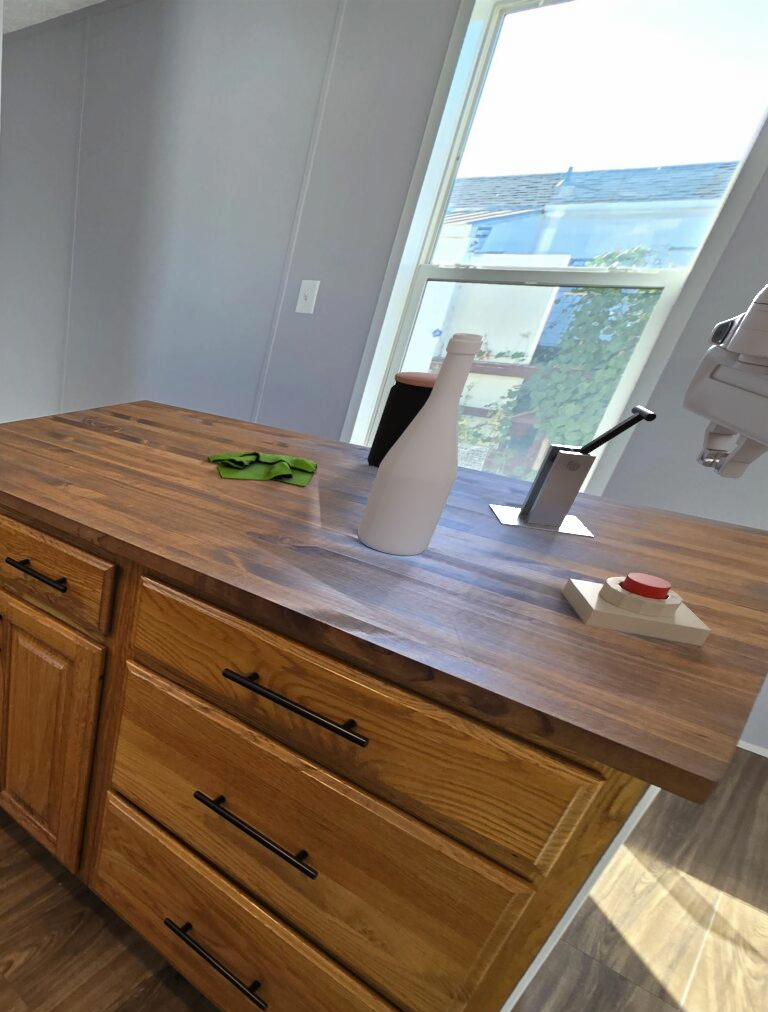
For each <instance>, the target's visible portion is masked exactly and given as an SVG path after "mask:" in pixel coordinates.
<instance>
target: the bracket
mask: <svg viewBox="0 0 768 1012" xmlns="http://www.w3.org/2000/svg"><path fill="white" fill-rule="evenodd" d="M581 447H582V446H574V445H565V444H564V445H563V444H555V443H551V444H550V446H549V447H548V450H547V452H546V454H545V456H544V458H543V460H542V462H541V465H540V466H539V469H538V471H537V473H536V475H535V477H534V480H533V481H532V484H531V486H530V488H529V491H528V493H527V494H526V497H525V499H524V501H523V503H522V505H521V507H520V508H517V507H516V508H515V507H511V506H502V505H496V504H489V505H488V506H489V509H490V510H491V511H492V512H493V514H494V515H495V517H496V518H497V520H498V521H499V522H500V524H501V525H504V526H511V527H517V528H525V529H531V530H539V531H544V532H545V531H546V532H551V533H559V534H565V535H572V536H578V537H579V536H580V537H585V538H593V539H594V538H595V535H594V534H593V532H591V531H590V530H589V529H588V528H587V527H586V526H585V525H584V524H583V523H582V522H581V521H580V520H579V519H578V517H576V516H574V515H568V514H569V512H570V510H571V508H572V505H573V504H574V502H575V499H576V498H577V496H578V494H579V492H580V490H581V488H582V486H583V484H584V482H585V480H586V478H587V476H588V475H589V472H590V470H591V468H592V466H593V464H594V463H595V460H596V459H597V455H596V454H592V453H589V454H584V453H575V452H566V450H568V449H569V448H571V449H572V450H574V451H577V450H578V449H580V448H581ZM555 457H556V459H555V461H554V463H553V462H552V461H551V460H552V459H553V458H555Z"/></svg>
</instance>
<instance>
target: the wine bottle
mask: <svg viewBox="0 0 768 1012" xmlns="http://www.w3.org/2000/svg"><path fill="white" fill-rule="evenodd" d="M482 346H483V336H482V335H480V334H475V333H467V332H466V333H465V332H464V333H463V332H462V333H461V332H457V333H454V334H453V335H452V337H451V338H449V340H448V342H447V345H446V348H445V352H446V354H445V356H444V360H443V361H442V364H441V366H440V370H439V372H438V373H437V374H438V377H437V379H436V382H435V385H434V387H433V390H432V392H431V395H430V397H429V398H428V400H427V402H426V403H425V405H424V406H423V408H422V409H421V410H420V412H419V413H418V414H417V415H416V417H415V418H414V419H413V421H412V422H411V423H410V425H409V426H408V427H407V429H406V430H405V431H404V432H403V434H402V435H401V436H400V438H399V439H398V440H397V441H396V443H395V444H394V445H393V446H392V448H391V449H390V450H389V452H388V453H387V454H386V456H385V457H384V459H383V460H382V462H381V464H380V466H379V468H377V472H376V475H375V478H374V480H373V484H372V487H371V490H370V492H369V495H368V498H367V501H366V503H365V507H364V510H363V513H362V516H361V519H360V522H359V525H358V527H357V538H358V540H359V541H360V542H361V543H362V544H363V545H365V546H366V547H369V548H371V549H373V550H375V551H378V552H381V553H384V554H388V555H395V556H409V557H410V556H416V555H420V554H423V553H424V552H425V551H426V550H427V549H428V547H429V546H430V543H431V541H432V539H433V536H434V534H435V532H436V529H437V527H438V524H439V521H440V519H441V517H442V514H443V512H444V509H445V506H446V504H447V502H448V499H449V497H450V495H451V492H452V490H453V488H454V484H455V482H456V480H457V477H458V467H459V466H458V465H459V407H460V401H461V397H462V394H463V391H464V388H465V385H466V383H467V381H468V377H469V374H470V371H471V369H472V367H473V363H474V361H475V358H476V356H477V355H479V353H480V351H481V349H482Z"/></svg>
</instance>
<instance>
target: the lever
mask: <svg viewBox="0 0 768 1012" xmlns="http://www.w3.org/2000/svg"><path fill="white" fill-rule="evenodd" d="M630 412H631V413H632V415H630V416H629V417H627V418H626V419H623V421H621V422H619V423H617V424H616V425H615V426H613V427H612V428H610V429H608V430H606V431H605V432H604V433H602V434H601V435H599V436H596V437H595V438H594V439H592V440H591V441H589V442H588V443H586V444H584V445H583V446H580V447H581V448H580V449H578V450H577V451H574V450H572V449H571V448H569V449H568V450H566V452H575V453H584V454H591V453H592V452H594V451H595V450H597V449H599V448H600V447H601V446H603V445H605V444H606V443H608V442H609V441H611V440H613V439H614V438H616V437H618V436H619V435H620V434H623V433H624V432H626V431H627V430H629V429H630V428H632V427H633V426H635V425H636V424H638V423H640V422H641V421H646V422H653V421H655V420H656V419H657V414H656V413H655V412H653V411H651V410H649V409H647V408H645V407H643V406H641V405H636V406H634V407H633V408H632V409H631V411H630ZM555 459H556V457H555V458H553V459H552V460H551V461H552V462H553V463H554V461H555Z"/></svg>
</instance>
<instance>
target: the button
mask: <svg viewBox="0 0 768 1012" xmlns="http://www.w3.org/2000/svg"><path fill="white" fill-rule="evenodd" d="M625 577H626V579H625V580H624V582H623V584H622V585H621V588H622V589H624V590H626V591H628V592H630V593H633V594H636V595H639V596H643V597H646V598H652V599H664V598H665V597H666V595H667V593H668V592H669V590H672V587H673V584H671V582H669V581H667V580H665V579H663V578H661V577H658V576H655V575H652V574H647V573H642V572H630V573H628V574H627V576H625Z"/></svg>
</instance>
